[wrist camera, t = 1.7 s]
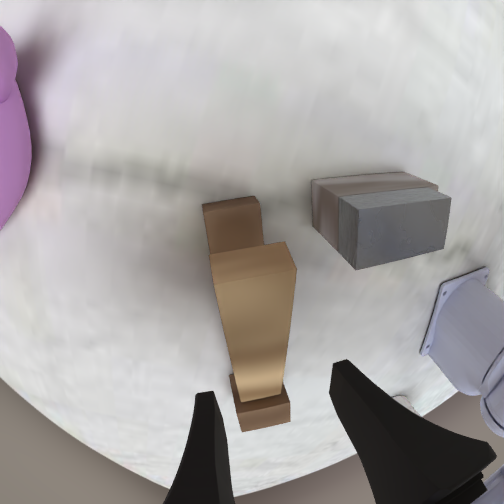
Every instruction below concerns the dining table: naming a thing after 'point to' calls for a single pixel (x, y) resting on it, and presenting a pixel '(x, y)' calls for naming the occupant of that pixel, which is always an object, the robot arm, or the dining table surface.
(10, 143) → the teapot
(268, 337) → the arm
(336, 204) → the brown grey blocky piece
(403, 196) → the bar
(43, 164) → the dining table surface
